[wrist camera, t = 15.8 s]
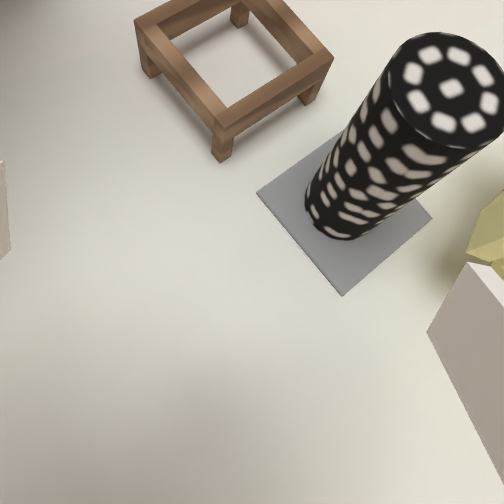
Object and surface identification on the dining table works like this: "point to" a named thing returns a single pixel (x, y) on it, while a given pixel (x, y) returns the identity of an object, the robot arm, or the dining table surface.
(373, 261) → the mat
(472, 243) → the slatted curved stool
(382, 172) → the spotted tube
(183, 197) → the dining table surface
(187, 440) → the dining table surface
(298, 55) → the square frame stand
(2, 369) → the dining table surface
